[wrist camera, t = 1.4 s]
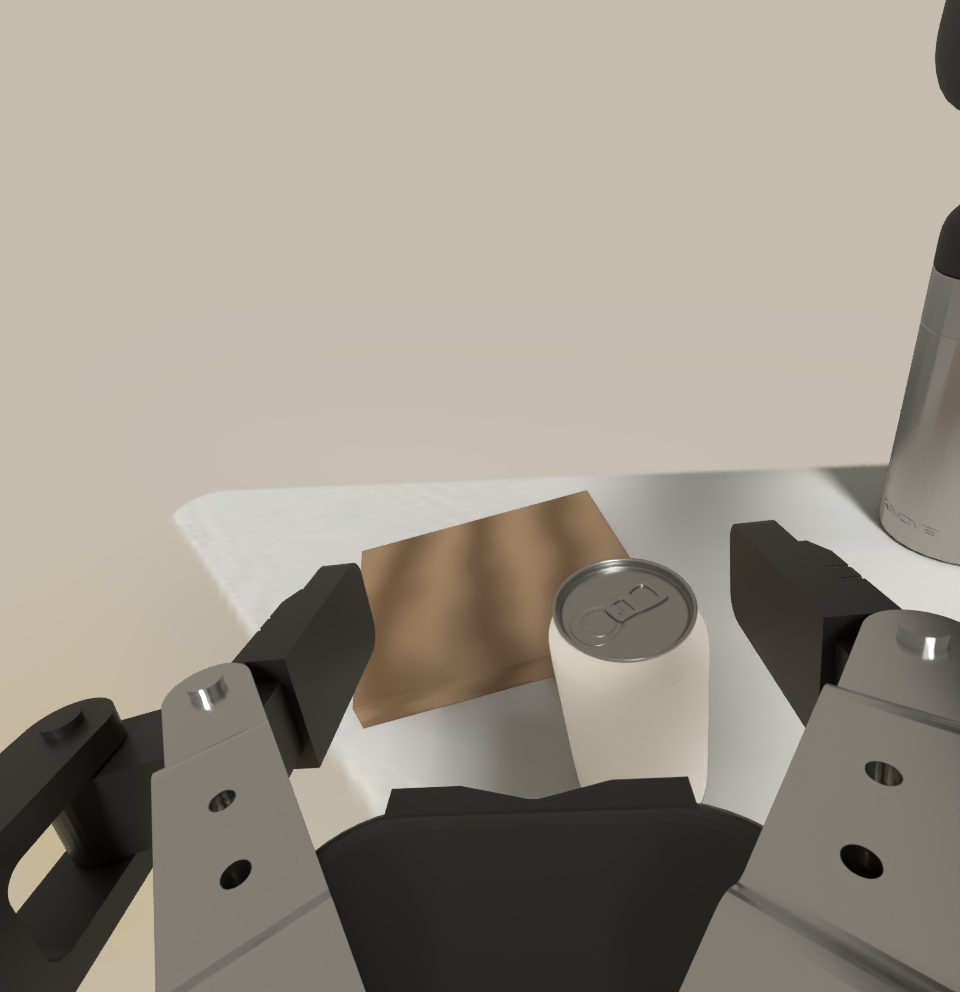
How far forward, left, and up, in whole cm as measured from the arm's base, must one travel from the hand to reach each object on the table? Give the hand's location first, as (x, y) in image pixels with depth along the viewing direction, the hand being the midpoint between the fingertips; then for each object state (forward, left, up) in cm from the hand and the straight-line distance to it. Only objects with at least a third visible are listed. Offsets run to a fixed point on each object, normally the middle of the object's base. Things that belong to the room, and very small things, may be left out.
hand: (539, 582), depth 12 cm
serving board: (+1, -21, -20) cm, 29 cm away
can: (-4, -6, -20) cm, 22 cm away
